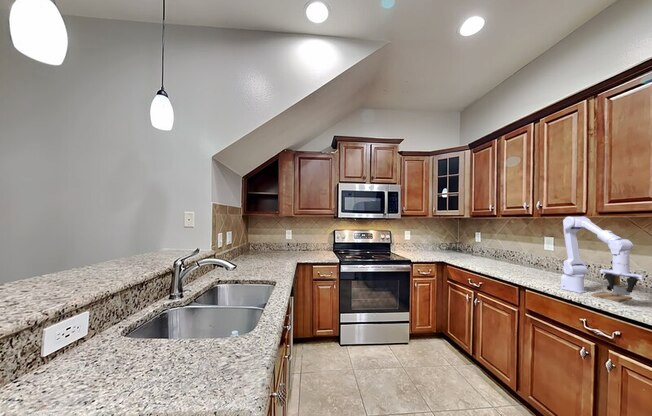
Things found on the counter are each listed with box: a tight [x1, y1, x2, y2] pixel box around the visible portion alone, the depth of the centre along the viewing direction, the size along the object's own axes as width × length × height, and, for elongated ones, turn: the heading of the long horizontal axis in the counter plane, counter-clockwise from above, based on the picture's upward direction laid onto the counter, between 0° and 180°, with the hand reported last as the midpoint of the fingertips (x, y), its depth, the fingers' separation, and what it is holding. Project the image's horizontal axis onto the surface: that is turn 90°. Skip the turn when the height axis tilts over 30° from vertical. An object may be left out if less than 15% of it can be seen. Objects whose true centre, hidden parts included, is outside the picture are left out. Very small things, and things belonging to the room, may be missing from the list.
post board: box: [590, 289, 633, 303], centre depth 141 cm, size 11×14×5 cm
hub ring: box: [613, 284, 631, 296], centre depth 129 cm, size 5×5×4 cm
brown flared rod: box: [606, 260, 621, 292], centre depth 153 cm, size 7×6×18 cm
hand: (621, 290), depth 129 cm, fingers closed on hub ring, 5 cm apart
